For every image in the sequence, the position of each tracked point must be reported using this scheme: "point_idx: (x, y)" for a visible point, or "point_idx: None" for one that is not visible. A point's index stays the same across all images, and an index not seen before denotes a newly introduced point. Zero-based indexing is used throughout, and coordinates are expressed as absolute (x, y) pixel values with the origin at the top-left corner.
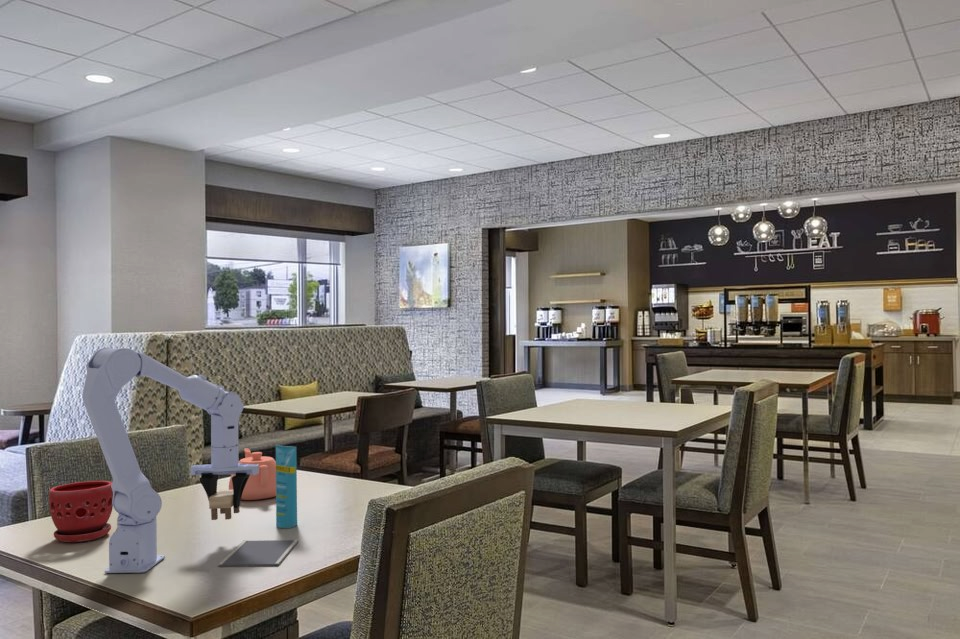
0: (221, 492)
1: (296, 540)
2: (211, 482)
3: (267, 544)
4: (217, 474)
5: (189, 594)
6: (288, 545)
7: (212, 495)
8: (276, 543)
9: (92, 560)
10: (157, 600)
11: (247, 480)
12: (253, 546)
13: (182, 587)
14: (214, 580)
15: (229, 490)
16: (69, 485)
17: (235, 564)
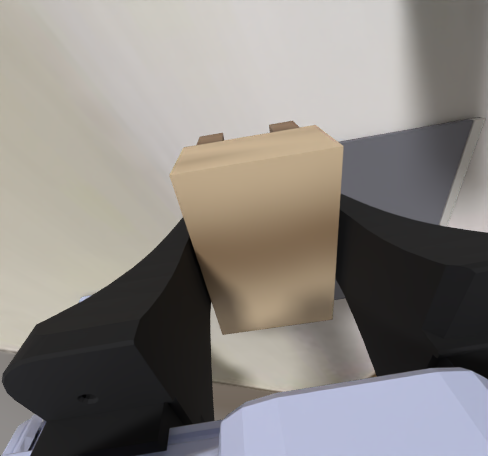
0: (229, 245)
1: (478, 128)
2: (206, 386)
3: (387, 175)
4: (152, 346)
5: (308, 372)
6: (449, 175)
7: (217, 308)
8: (413, 162)
9: (15, 313)
10: (277, 386)
11: (484, 234)
12: (350, 197)
13: (287, 361)
14: (324, 340)
15: (260, 187)
16: None
17: (341, 298)
